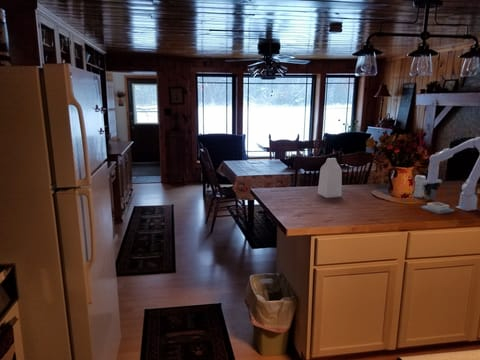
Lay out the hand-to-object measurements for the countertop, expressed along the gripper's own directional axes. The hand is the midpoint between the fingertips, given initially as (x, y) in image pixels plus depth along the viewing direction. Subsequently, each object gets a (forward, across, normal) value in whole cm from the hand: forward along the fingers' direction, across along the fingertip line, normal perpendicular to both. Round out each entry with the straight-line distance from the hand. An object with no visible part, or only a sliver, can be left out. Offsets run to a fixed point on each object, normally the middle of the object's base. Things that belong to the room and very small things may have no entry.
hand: (430, 194), depth 233 cm
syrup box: (+7, -9, -17) cm, 20 cm away
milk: (+6, +45, -44) cm, 63 cm away
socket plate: (+6, +5, +10) cm, 13 cm away
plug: (+2, 0, 0) cm, 2 cm away
